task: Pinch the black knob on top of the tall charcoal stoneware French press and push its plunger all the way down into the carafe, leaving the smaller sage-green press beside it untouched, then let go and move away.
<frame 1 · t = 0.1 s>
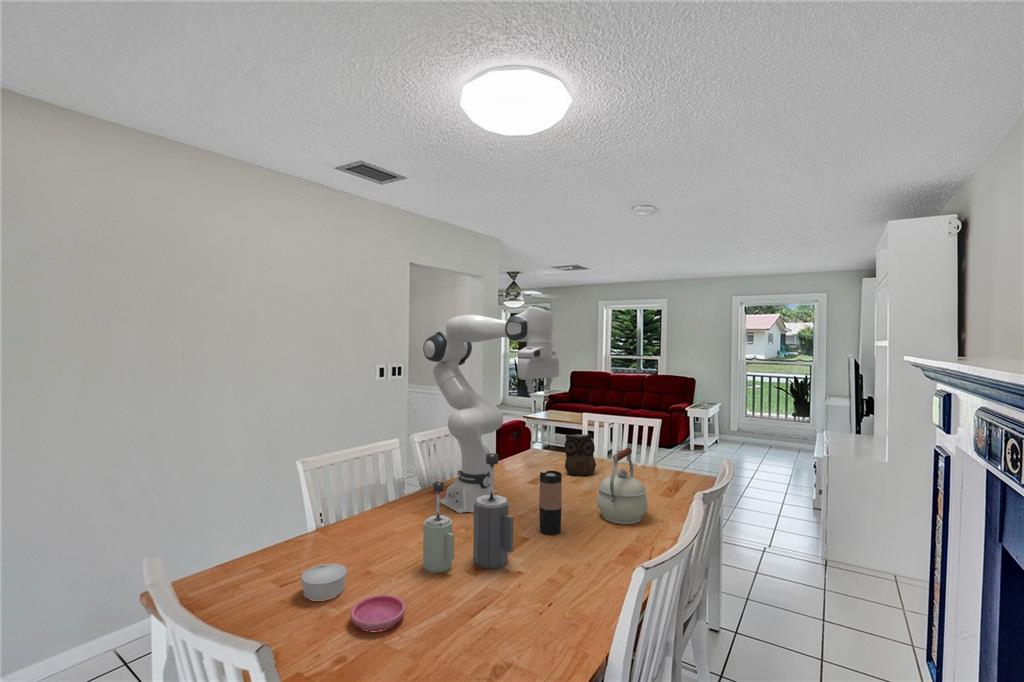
hand: (539, 391, 173), 48 cm above the table, tool pointing down, fingers open, 8 cm apart
press: (490, 560, 147), on the table
saucer: (378, 622, 116), on the table
travel mug: (550, 531, 170), on the table
owl: (580, 474, 242), on the table
plunger small: (438, 500, 143), point 19 cm above the table, slide at 0.0 cm
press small: (437, 566, 143), on the table
ramekin: (324, 593, 128), on the table
plunger: (491, 476, 147), point 25 cm above the table, slide at 0.0 cm
kettle: (623, 516, 185), on the table
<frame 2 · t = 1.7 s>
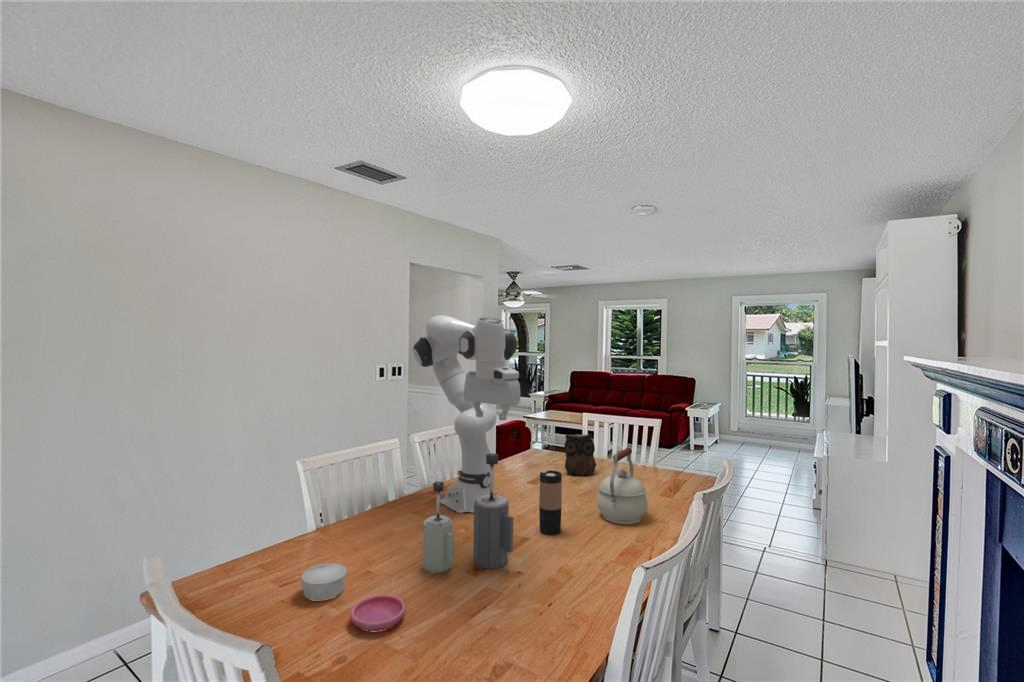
hand: (490, 418, 147), 42 cm above the table, tool pointing down, fingers open, 8 cm apart
nothing on the table moved.
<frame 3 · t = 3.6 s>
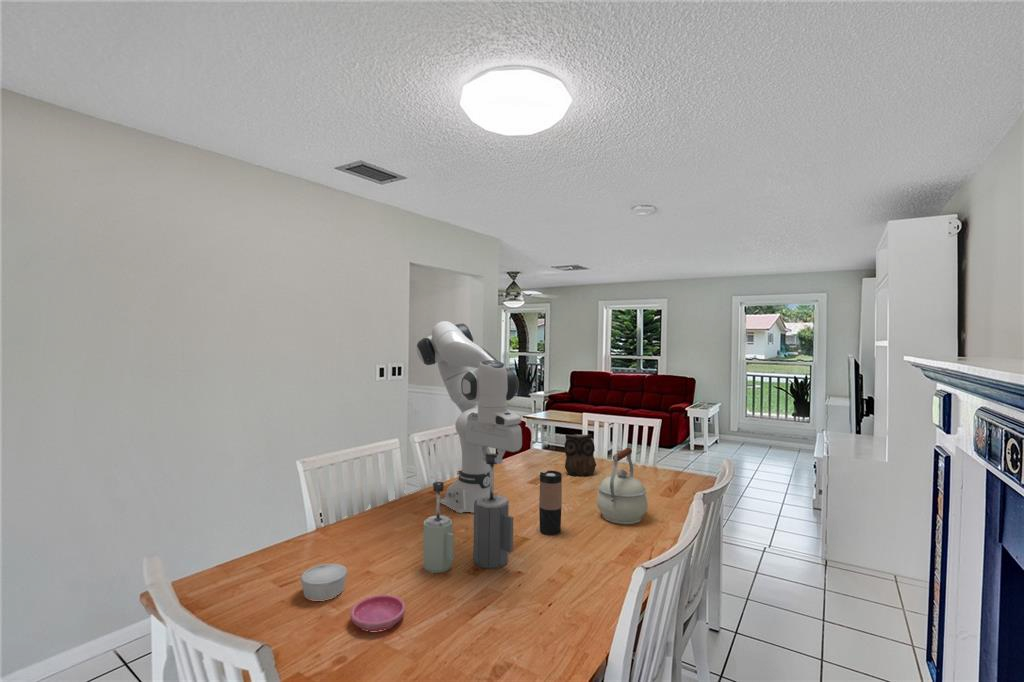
hand: (492, 461, 147), 30 cm above the table, tool pointing down, fingers closed on plunger, 4 cm apart
plunger: (491, 476, 147), point 25 cm above the table, slide at 0.0 cm, touching gripper
everything else where it was.
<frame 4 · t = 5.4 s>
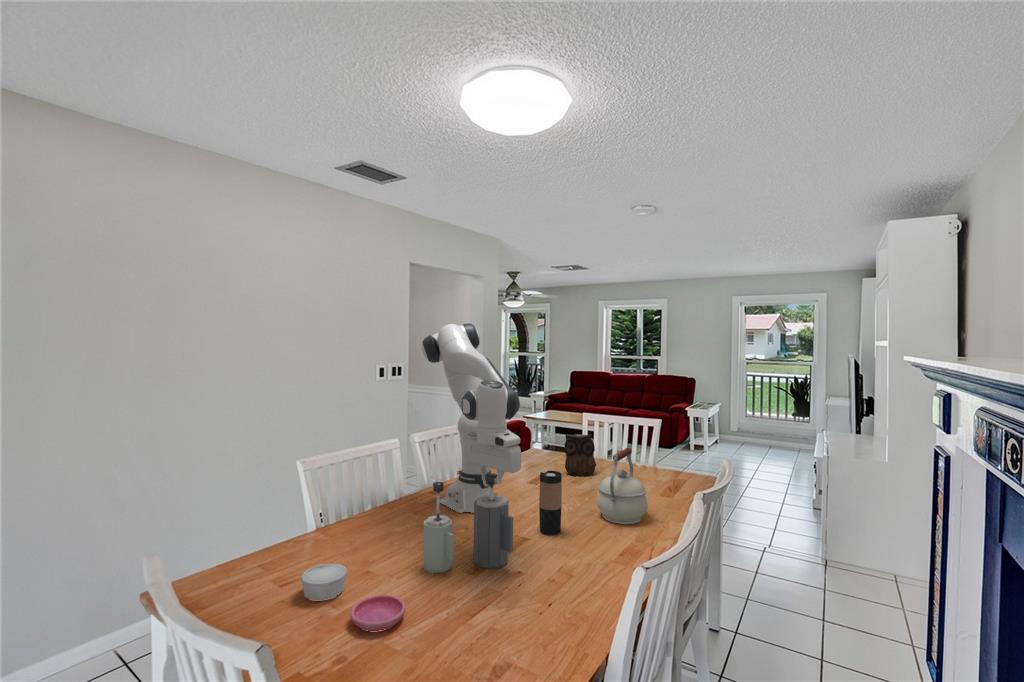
hand: (491, 482, 147), 24 cm above the table, tool pointing down, fingers closed on plunger, 4 cm apart
plunger: (491, 497, 147), point 19 cm above the table, slide at 6.0 cm, touching gripper
everything else where it was.
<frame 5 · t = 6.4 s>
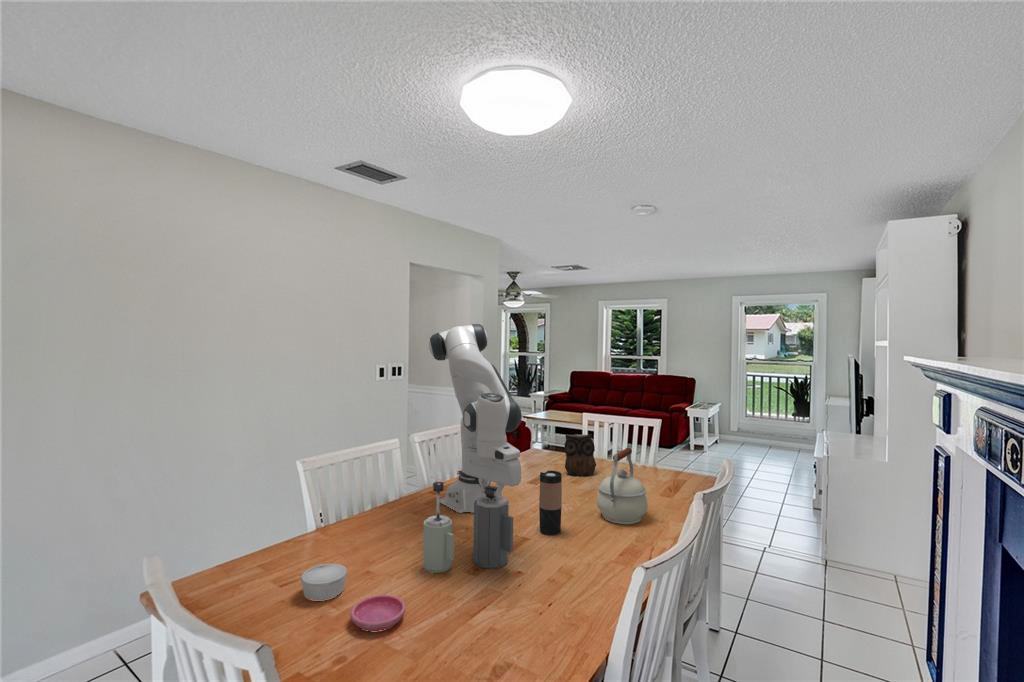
hand: (491, 495, 147), 20 cm above the table, tool pointing down, fingers closed on plunger, 4 cm apart
plunger: (491, 509, 147), point 15 cm above the table, slide at 9.9 cm, touching gripper
everything else where it was.
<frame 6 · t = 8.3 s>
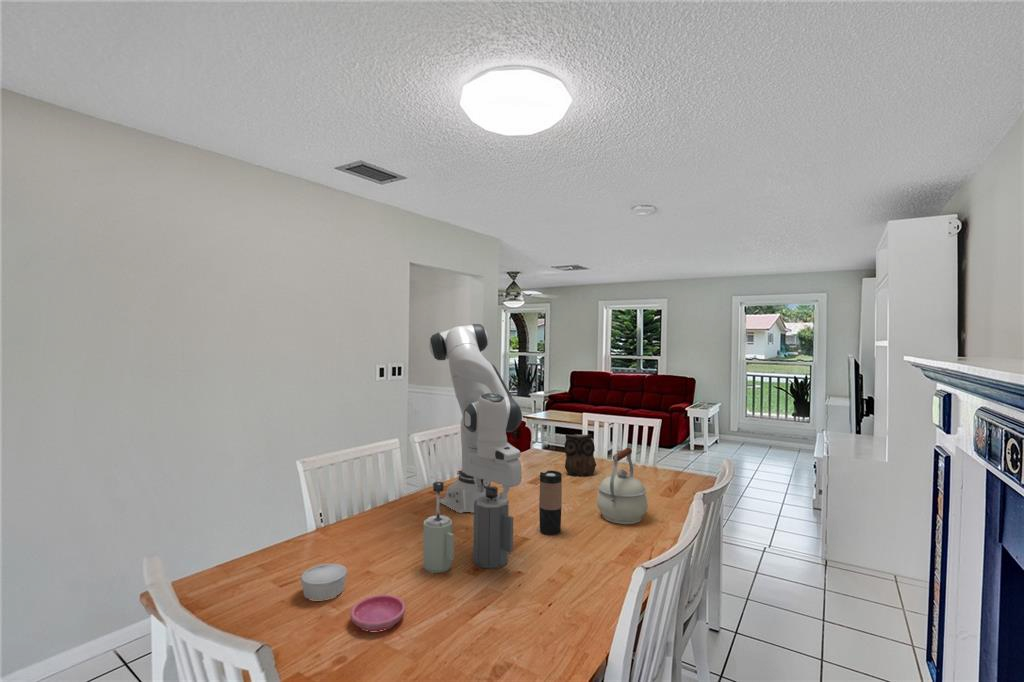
hand: (491, 495, 147), 20 cm above the table, tool pointing down, fingers open, 8 cm apart
plunger: (491, 510, 147), point 15 cm above the table, slide at 9.9 cm
everything else where it was.
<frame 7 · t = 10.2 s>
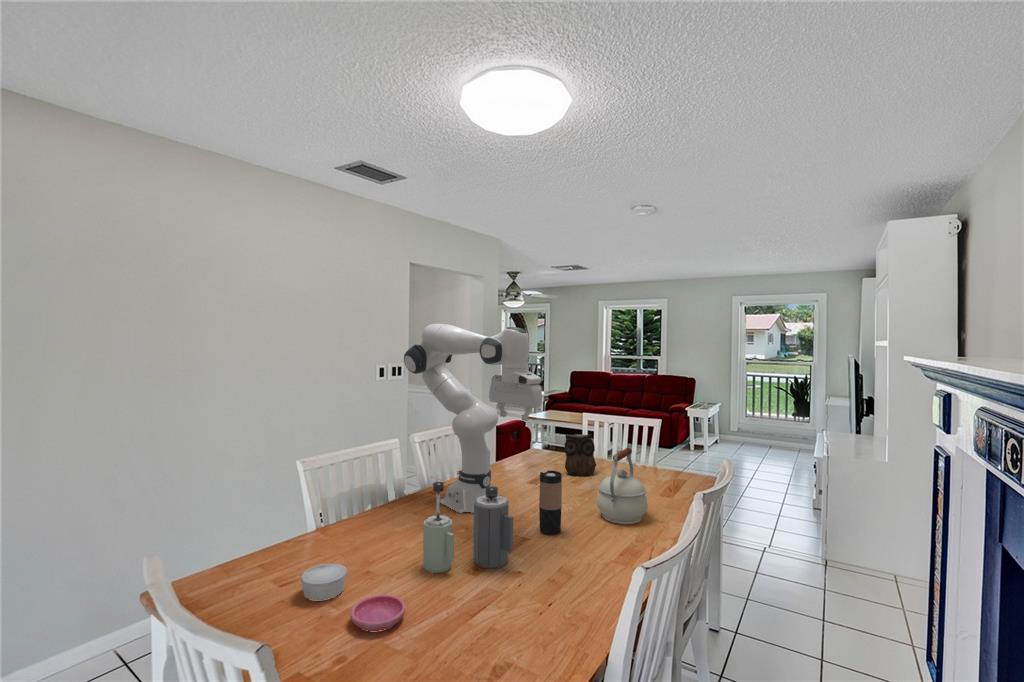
hand: (513, 418, 162), 40 cm above the table, tool pointing down, fingers open, 8 cm apart
nothing on the table moved.
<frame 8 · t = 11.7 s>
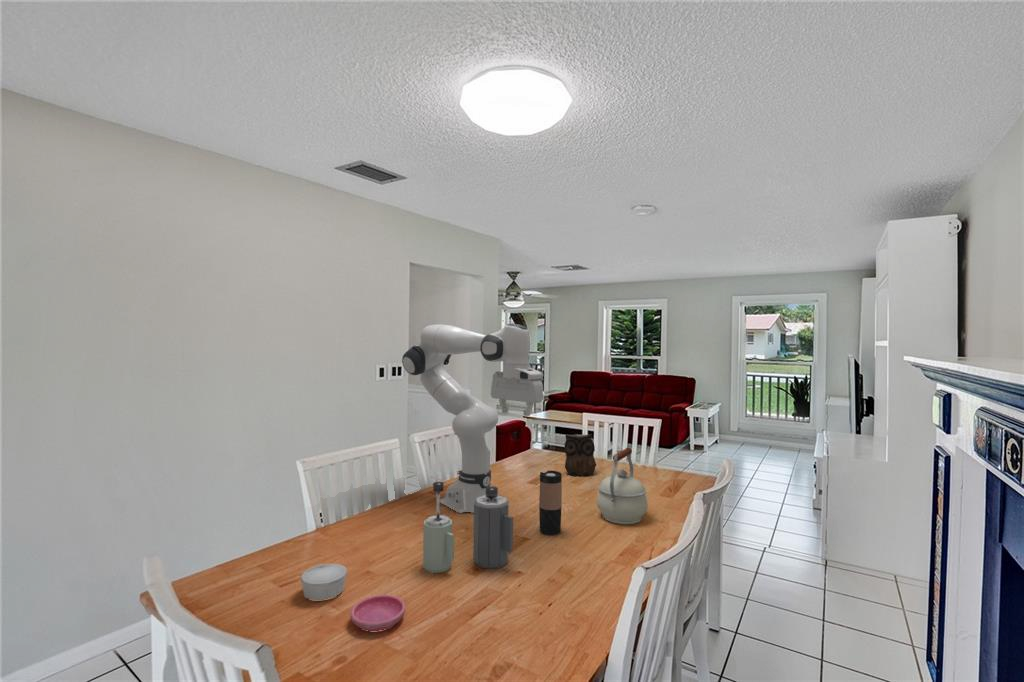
hand: (515, 414, 164), 41 cm above the table, tool pointing down, fingers open, 8 cm apart
nothing on the table moved.
at the end: plunger slide at 9.9 cm; plunger small slide at 0.0 cm; the gripper is holding nothing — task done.
